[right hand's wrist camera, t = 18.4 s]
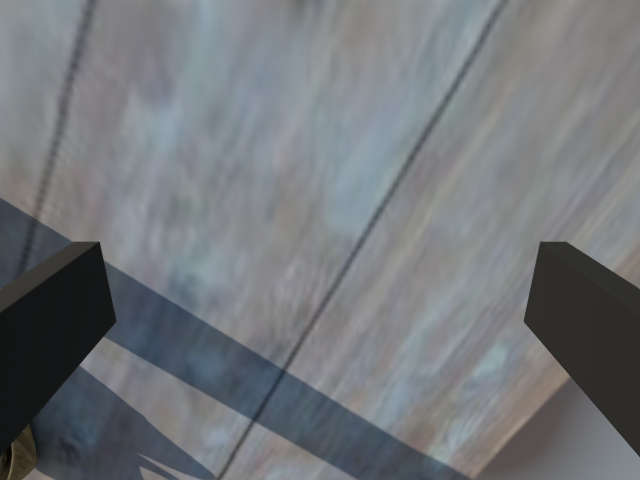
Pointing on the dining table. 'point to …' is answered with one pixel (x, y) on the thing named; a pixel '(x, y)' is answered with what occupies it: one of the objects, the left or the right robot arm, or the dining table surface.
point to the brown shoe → (19, 457)
